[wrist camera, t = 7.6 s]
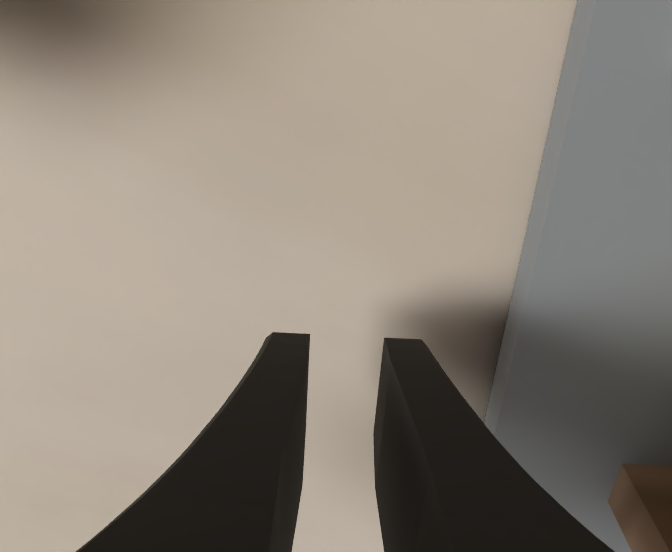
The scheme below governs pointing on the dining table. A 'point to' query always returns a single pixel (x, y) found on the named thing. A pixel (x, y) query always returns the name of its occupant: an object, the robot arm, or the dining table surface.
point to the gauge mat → (596, 272)
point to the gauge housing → (644, 506)
